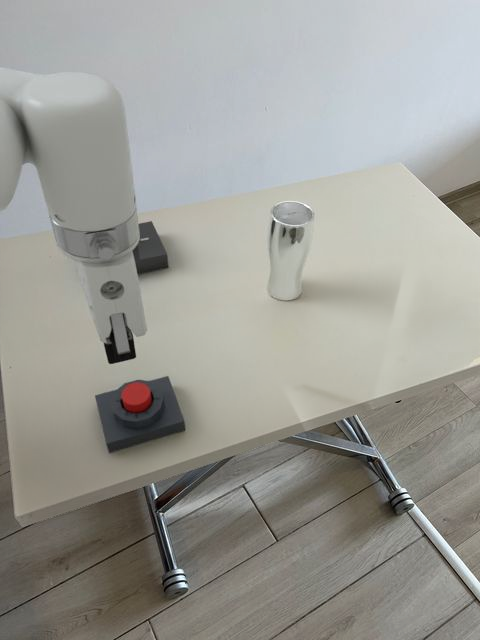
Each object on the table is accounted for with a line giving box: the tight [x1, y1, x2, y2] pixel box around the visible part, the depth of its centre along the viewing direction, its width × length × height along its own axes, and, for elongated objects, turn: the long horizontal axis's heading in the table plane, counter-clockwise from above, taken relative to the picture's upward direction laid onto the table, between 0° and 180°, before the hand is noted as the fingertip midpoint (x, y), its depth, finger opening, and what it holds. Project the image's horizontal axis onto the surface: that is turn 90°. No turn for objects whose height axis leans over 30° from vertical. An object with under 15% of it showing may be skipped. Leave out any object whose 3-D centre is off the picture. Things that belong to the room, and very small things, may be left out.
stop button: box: [121, 383, 152, 413], centre depth 68 cm, size 4×4×2 cm
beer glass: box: [266, 200, 315, 302], centre depth 84 cm, size 7×7×15 cm
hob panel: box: [132, 220, 170, 275], centre depth 92 cm, size 13×10×3 cm
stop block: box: [94, 375, 186, 454], centre depth 70 cm, size 10×8×4 cm
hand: (121, 356), depth 62 cm, fingers closed
